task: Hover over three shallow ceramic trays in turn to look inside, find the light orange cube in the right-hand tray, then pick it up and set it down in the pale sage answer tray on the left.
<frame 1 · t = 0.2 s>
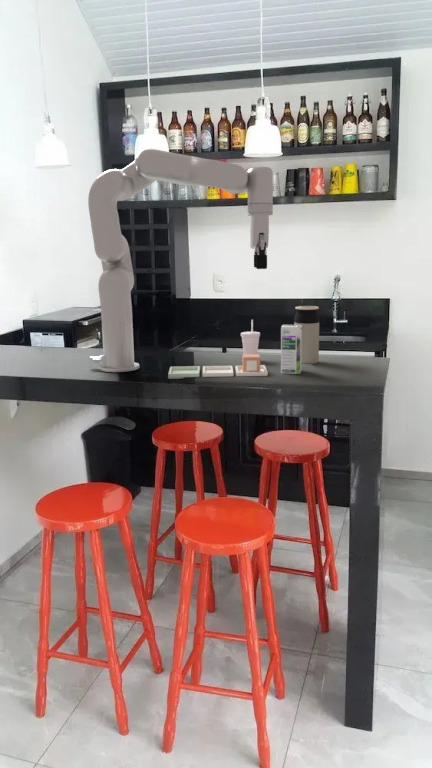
hand: (260, 268, 198), 31 cm above the counter, tool pointing down, fingers open, 9 cm apart
smoothie: (250, 362, 213), on the counter
tray C: (251, 373, 195), on the counter
travel mug: (306, 362, 211), on the counter
syrup box: (291, 373, 195), on the counter
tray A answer: (184, 374, 194), on the counter
light orange cube: (251, 372, 194), resting on tray C
tray B: (217, 374, 195), on the counter
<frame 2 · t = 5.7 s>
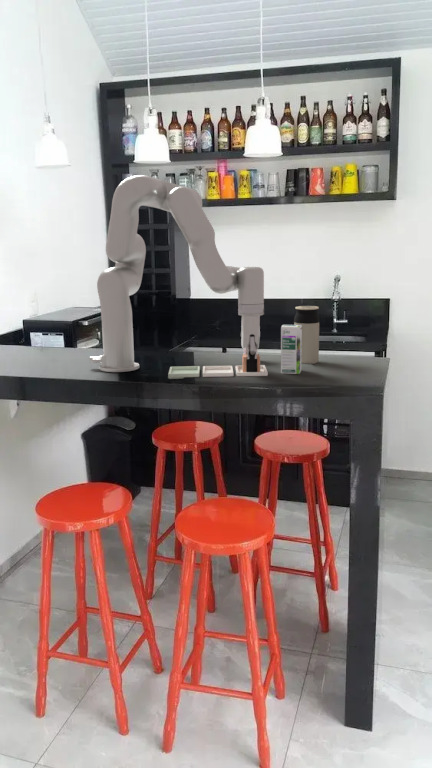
hand: (251, 369, 194), 1 cm above the counter, tool pointing down, fingers closed on light orange cube, 5 cm apart
light orange cube: (251, 372, 195), point 1 cm above the counter, touching gripper, tray C
everything else where it was.
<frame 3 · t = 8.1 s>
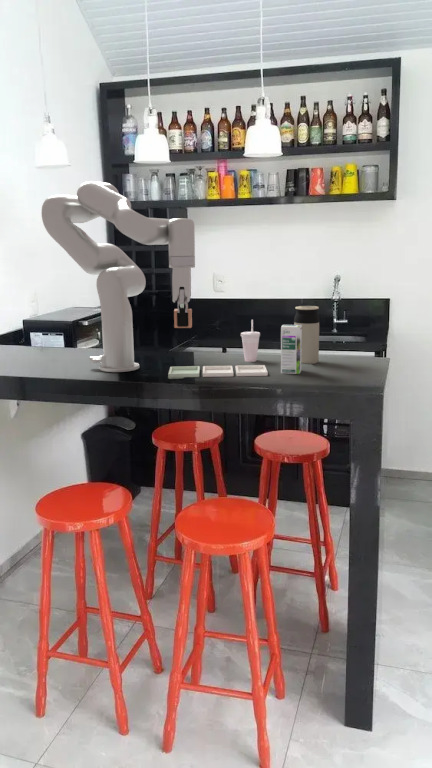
hand: (183, 324, 191), 15 cm above the counter, tool pointing down, fingers closed on light orange cube, 5 cm apart
light orange cube: (183, 326, 191), point 14 cm above the counter, touching gripper
everything else where it was.
when the fingers open (2 cm above the counter, at t = 10.9 s): light orange cube drops 1 cm, resting on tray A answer.
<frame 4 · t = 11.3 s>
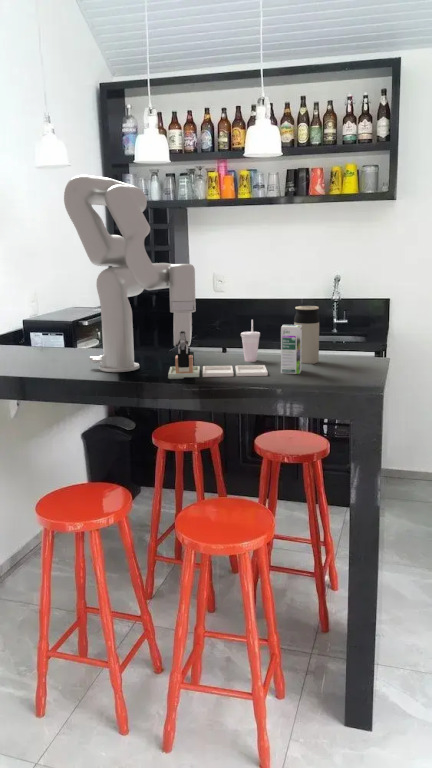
hand: (184, 364, 194), 3 cm above the counter, tool pointing down, fingers open, 9 cm apart
light orange cube: (184, 373, 194), resting on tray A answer
everything else where it was.
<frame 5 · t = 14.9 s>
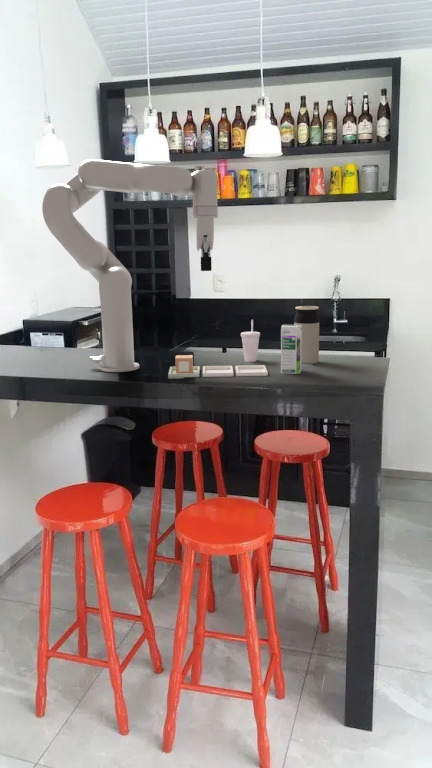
hand: (206, 270, 201), 30 cm above the counter, tool pointing down, fingers open, 9 cm apart
nothing on the counter moved.
at the end: light orange cube inside the target area on the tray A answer (0.1 cm from its centre), point 0.5 cm above the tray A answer's base; light orange cube tilted 0°; the gripper is holding nothing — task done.
